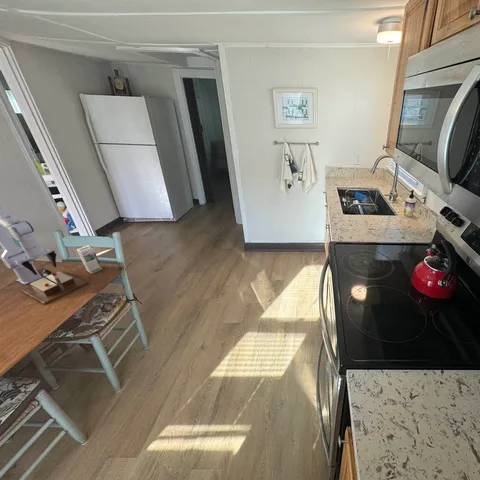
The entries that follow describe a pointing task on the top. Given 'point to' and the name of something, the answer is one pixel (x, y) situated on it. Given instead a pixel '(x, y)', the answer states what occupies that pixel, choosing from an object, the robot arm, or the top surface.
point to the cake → (52, 284)
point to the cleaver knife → (48, 274)
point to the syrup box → (89, 259)
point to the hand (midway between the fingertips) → (45, 270)
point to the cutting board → (53, 296)
